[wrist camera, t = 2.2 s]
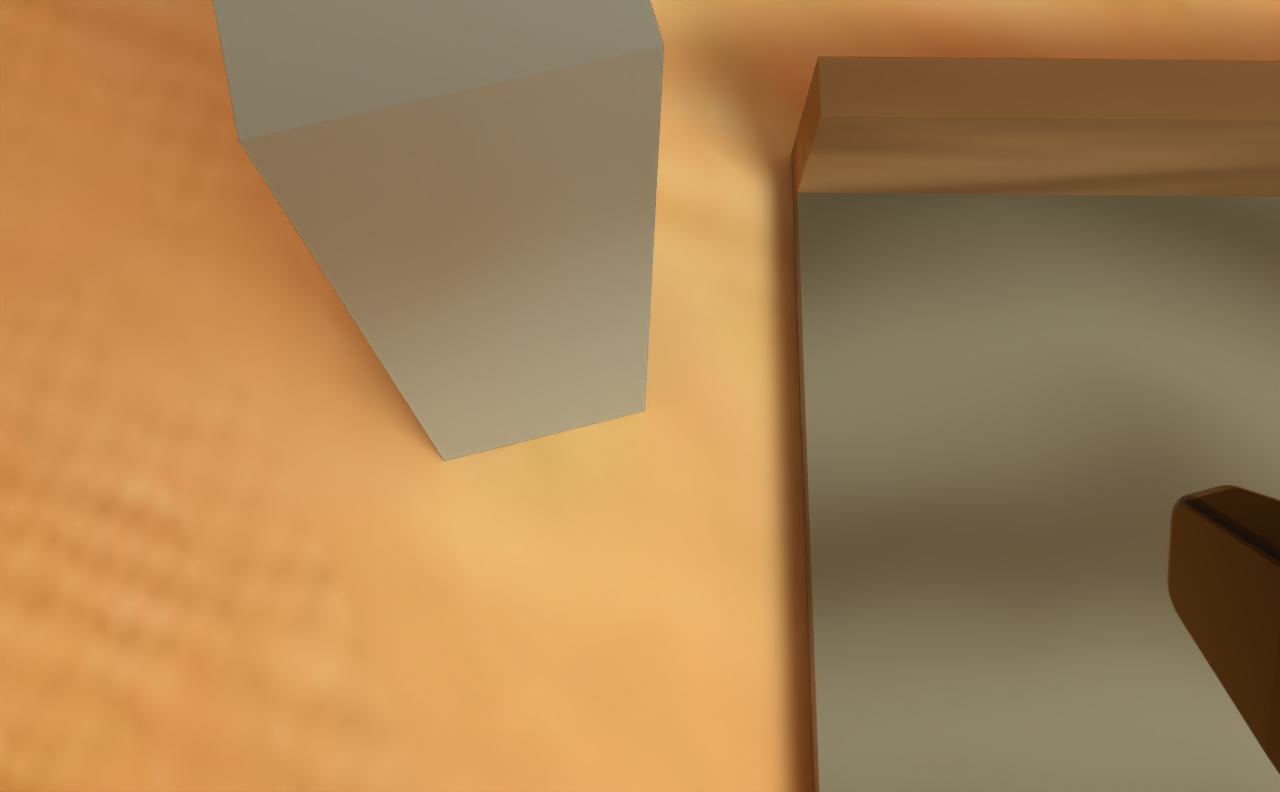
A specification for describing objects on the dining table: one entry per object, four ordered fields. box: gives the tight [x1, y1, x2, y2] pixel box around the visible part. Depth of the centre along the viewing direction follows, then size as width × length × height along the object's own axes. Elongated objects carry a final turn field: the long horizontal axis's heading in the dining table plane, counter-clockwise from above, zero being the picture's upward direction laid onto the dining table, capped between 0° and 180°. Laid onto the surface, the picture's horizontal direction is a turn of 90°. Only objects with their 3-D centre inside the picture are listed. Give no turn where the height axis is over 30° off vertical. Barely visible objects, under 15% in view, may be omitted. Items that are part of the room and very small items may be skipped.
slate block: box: [213, 0, 664, 461], centre depth 17 cm, size 4×4×12 cm
